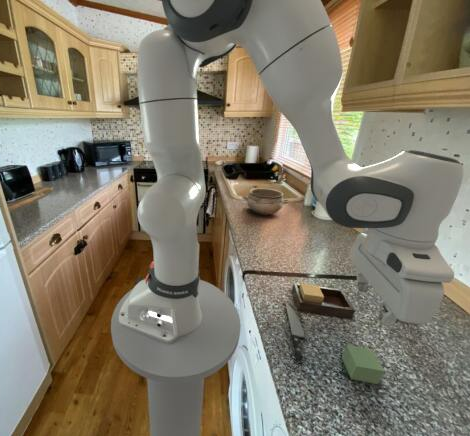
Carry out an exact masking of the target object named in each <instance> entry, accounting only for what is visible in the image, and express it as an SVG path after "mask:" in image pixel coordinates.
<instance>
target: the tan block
mask: <svg viewBox="0 0 470 436" xmlns="http://www.w3.org/2000/svg"><path fill="white" fill-rule="evenodd" d="M299 284H300V287H299V292H300V295H301V298H302V300H303V301H307V302H314V303H320V304H322V302H323V299H324V296H323V294H322V292H321V290H320V288H319V287H320V286H319V285H317V284H308V283H302V282H301V283H299Z"/></svg>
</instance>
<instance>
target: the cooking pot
mask: <svg viewBox="0 0 470 436" xmlns="http://www.w3.org/2000/svg"><path fill="white" fill-rule="evenodd" d="M283 196H284V192H282V191H281V190H278V189H275V188H271V187H253V188H250V189H249V194H248V196H245V195H242V196H241V198H242V199H243V200H244V201H246V204H247V206H248V208H250V209H251V211H253V212H255V213H256V214H258V215H260V216H269V215H271V214H272V215H273V214H276V213H277V212H279V211H280V210H281V209H282V208H283V206H284V205H285V204H288V203H290V201H291V200H290V199H289V198H288V199H284V198H283Z"/></svg>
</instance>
